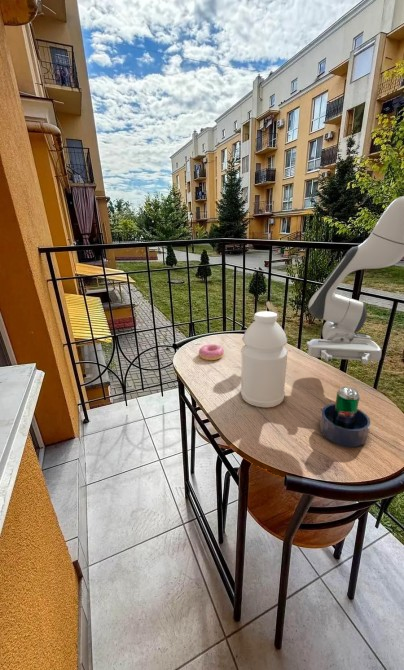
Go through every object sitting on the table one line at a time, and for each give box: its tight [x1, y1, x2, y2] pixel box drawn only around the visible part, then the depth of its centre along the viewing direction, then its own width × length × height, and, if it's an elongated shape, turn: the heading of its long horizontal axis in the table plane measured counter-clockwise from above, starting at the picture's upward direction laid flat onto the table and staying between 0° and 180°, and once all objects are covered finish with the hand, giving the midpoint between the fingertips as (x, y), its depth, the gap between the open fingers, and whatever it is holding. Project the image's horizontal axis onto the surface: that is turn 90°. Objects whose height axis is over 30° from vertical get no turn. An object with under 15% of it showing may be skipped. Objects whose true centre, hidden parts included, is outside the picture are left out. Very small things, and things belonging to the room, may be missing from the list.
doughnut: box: [198, 343, 225, 361], centre depth 121 cm, size 11×11×4 cm
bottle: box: [240, 310, 289, 408], centre depth 87 cm, size 14×14×28 cm
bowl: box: [319, 403, 371, 448], centre depth 73 cm, size 11×11×5 cm
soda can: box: [333, 386, 361, 429], centre depth 72 cm, size 5×5×12 cm
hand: (346, 360), depth 81 cm, fingers open, 8 cm apart
